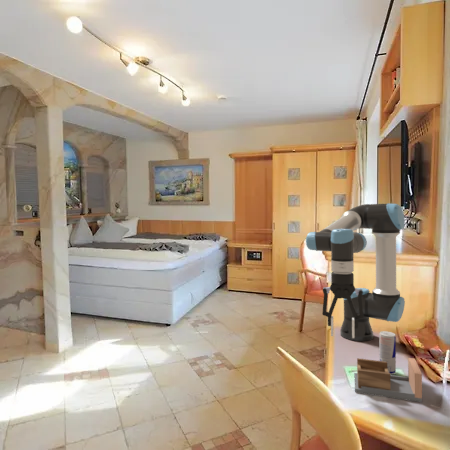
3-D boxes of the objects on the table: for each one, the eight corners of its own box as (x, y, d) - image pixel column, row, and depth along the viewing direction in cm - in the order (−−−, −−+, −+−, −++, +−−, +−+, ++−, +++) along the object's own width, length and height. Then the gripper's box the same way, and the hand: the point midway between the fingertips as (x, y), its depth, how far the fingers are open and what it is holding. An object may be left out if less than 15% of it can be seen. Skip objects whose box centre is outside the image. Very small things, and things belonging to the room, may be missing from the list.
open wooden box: (357, 374, 126) (357, 358, 126) (387, 378, 122) (387, 361, 122) (358, 387, 116) (358, 370, 116) (390, 392, 113) (390, 374, 113)
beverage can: (397, 376, 126) (397, 336, 126) (381, 375, 128) (381, 335, 127) (393, 369, 132) (393, 331, 131) (377, 368, 133) (377, 330, 132)
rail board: (354, 376, 127) (354, 351, 127) (414, 384, 120) (414, 358, 120) (355, 392, 116) (355, 365, 115) (421, 402, 109) (421, 374, 109)
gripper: (313, 272, 121) (313, 336, 122) (372, 275, 115) (372, 342, 115) (315, 269, 128) (315, 329, 129) (371, 271, 122) (371, 335, 122)
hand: (342, 335), depth 122 cm, fingers open, 6 cm apart
